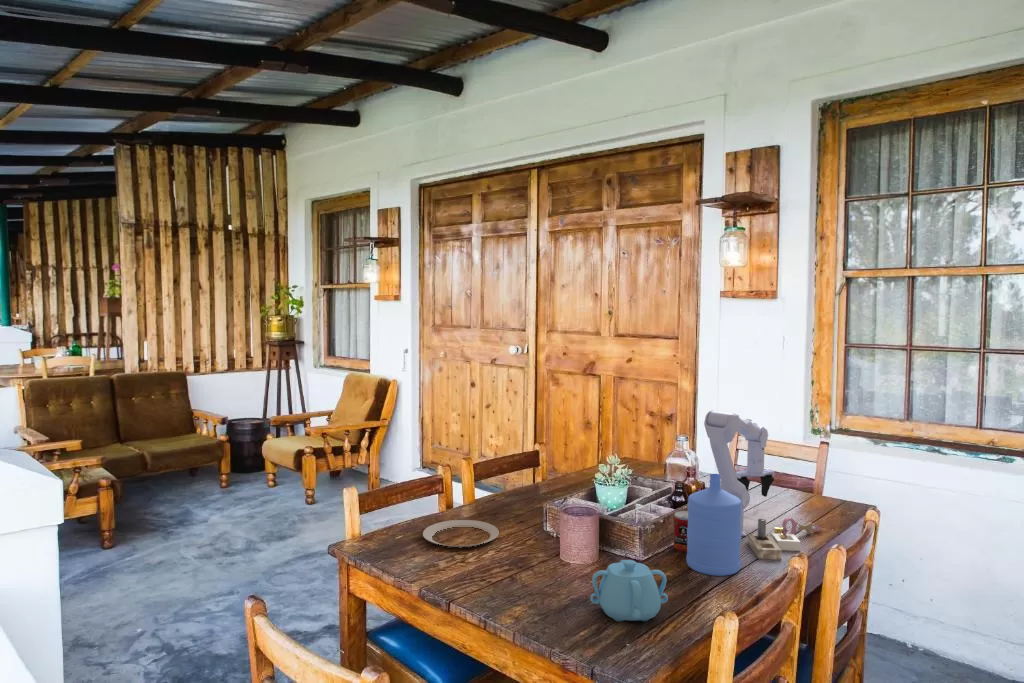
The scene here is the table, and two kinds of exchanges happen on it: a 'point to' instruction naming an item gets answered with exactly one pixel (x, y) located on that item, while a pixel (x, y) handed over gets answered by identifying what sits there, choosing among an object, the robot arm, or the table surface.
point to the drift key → (779, 532)
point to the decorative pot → (629, 591)
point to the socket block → (787, 542)
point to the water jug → (714, 530)
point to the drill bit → (761, 529)
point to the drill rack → (764, 547)
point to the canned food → (680, 530)
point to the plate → (460, 523)
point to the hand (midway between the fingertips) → (754, 496)
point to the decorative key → (800, 527)
